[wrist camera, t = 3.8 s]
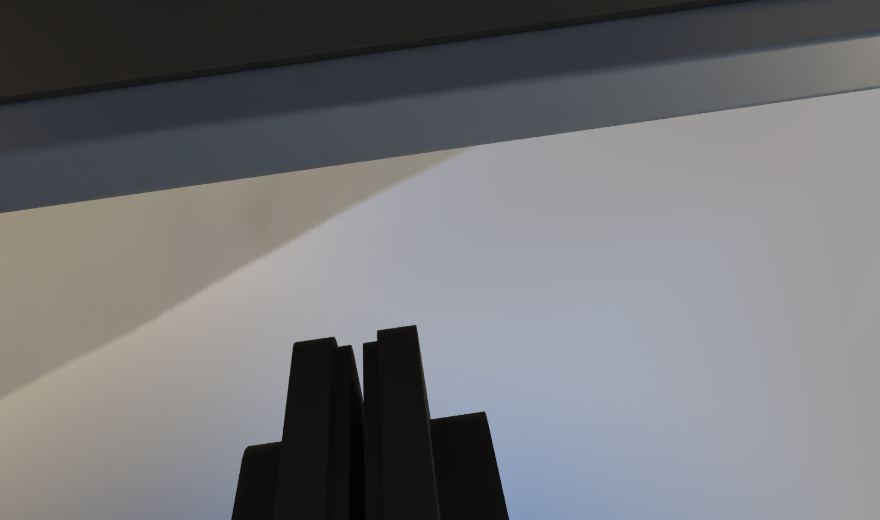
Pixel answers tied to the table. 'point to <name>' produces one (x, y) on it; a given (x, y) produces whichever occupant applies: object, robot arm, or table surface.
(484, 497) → the robot arm
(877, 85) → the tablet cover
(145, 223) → the table surface
